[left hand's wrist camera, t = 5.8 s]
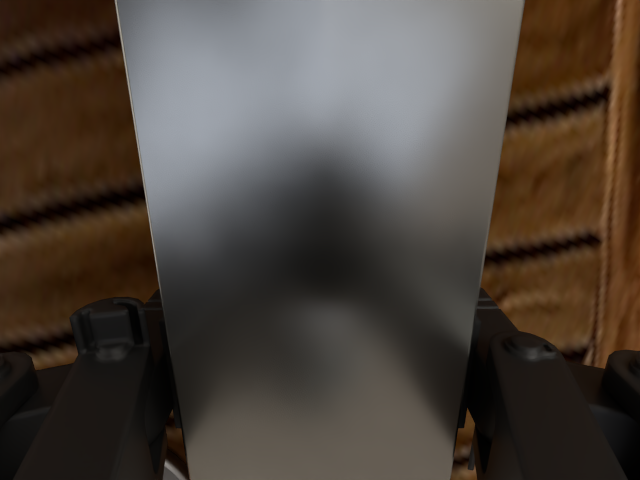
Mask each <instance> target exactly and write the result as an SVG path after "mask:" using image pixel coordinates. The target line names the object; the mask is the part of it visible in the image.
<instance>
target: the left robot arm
mask: <svg viewBox="0 0 640 480" xmlns="http://www.w3.org/2000/svg"><path fill="white" fill-rule="evenodd" d="M69 318H70V322H71V326H72V330H73V334H74V338H75V342H76V346H77V350H78V356H77V358H76V360H75V362H74V363H71V364H67V365H62V366H57V367H52V368H47V369H42V370H36V371H35V368H34V365H33V361H32V358H31V357H30V356H29V355H27V354H26V353H21V352H7V353H0V480H189V473H188V467H187V466H186V465H185V463H184V462H183V461H182V460H181V459H180V458H179V457H177V456H176V455H175V454H174V453H173V452H171V451H170V450H169V449H167V444H168V442H167V434H166V429H165V424H166V422H167V419H168V417H169V415H170V413H171V411H172V409H173V414H174V420H175V426H176V428H181V422H180V416H179V409H178V403H177V397H176V390H175V384H174V377H173V371H172V365H171V358H170V352H169V345H168V339H167V333H166V326H165V320H164V313H163V307H162V301H161V294H160V289H158V290H157V291H156V292H155V293H154V294H153V295H152V297H151V298H150V299H149V300H148V302H146V304H145V305H144V303H143V302H141V301H140V300H139V299H136V298H131V297H114V298H109V299H103V300H99V301H97V302H94V303H91V304H88V305H86V306H84V307H82V308H80V309H79V310H77V311H76V312H75V313H74V314H73V315H72V316H71V317H69ZM467 407H468V410H469V412H470V414H471V416H472V418H473V420H474V422H475V429H474V434H473V440H472V446H471V452H470V457H469V464H468V470H473V469H474V463H475V466H476V473H477V480H640V351H633V350H620V351H614V352H613V353H612V354H610V355H609V357H608V360H607V363H606V367H605V369H603V368H598V367H592V366H587V365H582V364H576V363H572V362H568V361H565V359H564V357H563V356H562V354H561V353H560V351H559V350H558V349H557V348H556V347H555V346H554V345H553V344H551V343H550V342H548V341H547V340H545V339H543V338H541V337H538V336H536V335H533V334H530V333H526V332H521V331H518V329H517V328H516V327H515V326H514V325H513V324H512V322H511V321H510V320H509V319H508V318H507V316H506V315H505V314H504V313H503V312H502V311H501V309H498V306H497V305H496V303H495V302H494V301H492V299H491V298H490V296H489V295H488V294H487V293H486V292H485V290H484V289H482V288H481V287H480V291H479V297H478V304H477V310H476V317H475V323H474V330H473V336H472V342H471V349H470V355H469V362H468V368H467V374H466V381H465V387H464V394H463V400H462V406H461V413H460V419H459V426H458V428H464V424H465V418H466V412H467Z"/></svg>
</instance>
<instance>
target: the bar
mask: <svg viewBox="0 0 640 480" xmlns="http://www.w3.org/2000/svg"><path fill="white" fill-rule="evenodd" d="M524 3H525V0H115V6H116V13H117V19H118V25H119V32H120V38H121V45H122V51H123V57H124V64H125V70H126V77H127V83H128V89H129V96H130V102H131V109H132V115H133V121H134V128H135V134H136V141H137V147H138V153H139V160H140V166H141V173H142V179H143V185H144V192H145V198H146V205H147V211H148V217H149V224H150V230H151V237H152V243H153V249H154V256H155V262H156V269H157V275H158V281H159V288H160V294H161V301H162V307H163V313H164V320H165V326H166V333H167V339H168V345H169V352H170V358H171V365H172V371H173V377H174V384H175V390H176V397H177V403H178V409H179V416H180V422H181V429H182V435H183V441H184V448H185V454H186V461H187V467H188V473H189V480H450V477H451V470H452V464H453V458H454V451H455V445H456V438H457V432H458V426H459V419H460V413H461V406H462V400H463V394H464V387H465V381H466V374H467V368H468V362H469V355H470V349H471V342H472V336H473V330H474V323H475V317H476V310H477V304H478V297H479V291H480V285H481V278H482V272H483V265H484V259H485V253H486V246H487V240H488V233H489V227H490V221H491V214H492V208H493V201H494V195H495V189H496V182H497V176H498V169H499V163H500V157H501V150H502V144H503V137H504V131H505V125H506V118H507V112H508V105H509V99H510V92H511V86H512V80H513V73H514V67H515V60H516V54H517V48H518V41H519V35H520V28H521V22H522V16H523V9H524Z"/></svg>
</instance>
